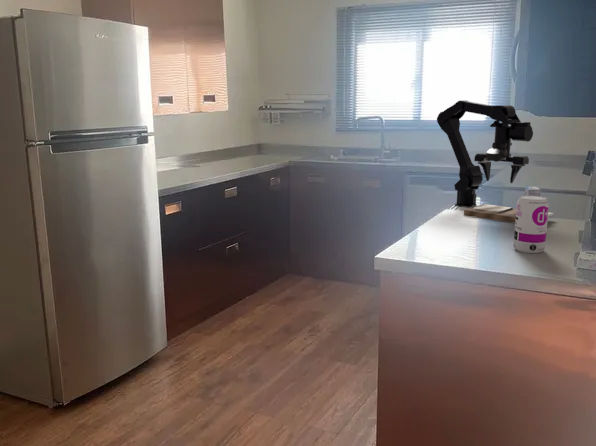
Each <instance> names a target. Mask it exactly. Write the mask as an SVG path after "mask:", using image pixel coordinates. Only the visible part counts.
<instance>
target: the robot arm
mask: <svg viewBox="0 0 596 446" xmlns="http://www.w3.org/2000/svg"><path fill="white" fill-rule="evenodd" d="M466 112H467V113H472V114H478V115H483V116H486V117H489V118H490V119H492V120H494V122H492V123H491V124H489V127H491V128H494V129H495V130H494V140H493V141H494V142H492V146H491V148H489V149H488V150H487V151H486V152H485V153H484V152H482V153H481V152H479V153H476V154H475V155H474V160H473V162H477V165H475V164H473V162H472V159H471V157H470V154H469V152H468V149H467V146H466V145H465V142H464V139H463V136H462V134H461V131H460V125H461V122H460V119H462V118H463V116H465V113H466ZM436 122H437V124H438V126H439V127H440V129H441V131H442V132H444V133H445V134H446V135H447V138H448V140H449V143H450V145H451V148H452V151H453V153H454V156H455V158H456V161H457V164H458V166H459V172H458V173H459V174H458V176H459V177H458V178H459V180H458V181H457V182H455V184H454V186H453V187H454V190H455V191H457V193H456V203H454V206H460V207H467V208H472V207H476V206H478V205H477V194H476V190H479V187H480V185H482V182H483V180H484V177H485V179H486V181H487V182H489V181H490V176H491V169H492V162H503V163H504V162H505V163H506V162H507V163H512V164H510V167H511V173H510V177H509V178H510V180H509V182H510V184H513V183H514V182H515V179H516V177H517V175H518V173H519V172H520V170H521V169H522V168H523V167H525V166H526V165H529V161H530V160H529V156H527V155H515V156H513V157H512V153H511V146H513V142H512V141H515V142H531V140H532V139H533V136H534V130H533V127H532V126H531V122H530V121H529V122H527V121H524V122H522V121H521V120H520V118H519V117H518V115H517V111H516V109H515V107H514V106H513V105H508V104H507V105H505V104H504V105H499V104H498V105H491V104H485V103H478V102H474V101H473V102H472V101H469V100H458V101H456V103H454V104H452V105H451V106H449V107H448V108H446V109H445V110H444V111H440V112H439V113H438V115H437V117H436ZM481 167H482V169H483V172H482V171H481ZM483 175H484V177H483Z"/></svg>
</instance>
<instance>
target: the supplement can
mask: <svg viewBox="0 0 596 446" xmlns="http://www.w3.org/2000/svg"><path fill="white" fill-rule="evenodd" d="M549 207H550V203H549V201H548V198H547V197H545V196H525V195H520V196H519V198H518V200H517V201H516V221H515V223H514V237H513V244H512V247H513V248H514V249H515V250H516V251H517V252H519V253H520V252H521V253H525V254H539V253H542V252H543V251H545V250H546V241H547V240H546V239H547V231H548V230H547V228H548V220H549V219H548V212H549V209H550V208H549Z"/></svg>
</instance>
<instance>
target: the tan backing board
mask: <svg viewBox="0 0 596 446" xmlns="http://www.w3.org/2000/svg"><path fill="white" fill-rule="evenodd" d="M516 209H517V207H515V208H513V207H510V206H509V207H508V206H501V205H493V204H486V203H485V204H484V203H483V204H480V205H475V206H472V207H468V208H465V209H463V216H466V217H472V218H479V219H486V220H493V221H498V220H500V221H499V222H505V221H508V222H507V223H511V222H514V223H513V224H515V221H516Z"/></svg>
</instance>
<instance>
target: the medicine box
mask: <svg viewBox="0 0 596 446" xmlns="http://www.w3.org/2000/svg"><path fill="white" fill-rule="evenodd" d="M524 189H525V190H524V196H541V193H542V190H541V188H539V187H538V186H525V188H524ZM541 197H542V196H541Z"/></svg>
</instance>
